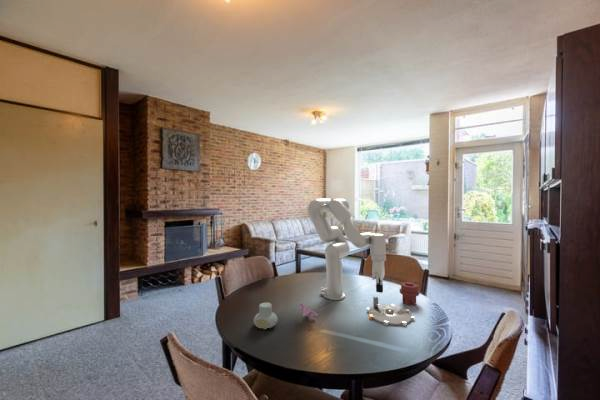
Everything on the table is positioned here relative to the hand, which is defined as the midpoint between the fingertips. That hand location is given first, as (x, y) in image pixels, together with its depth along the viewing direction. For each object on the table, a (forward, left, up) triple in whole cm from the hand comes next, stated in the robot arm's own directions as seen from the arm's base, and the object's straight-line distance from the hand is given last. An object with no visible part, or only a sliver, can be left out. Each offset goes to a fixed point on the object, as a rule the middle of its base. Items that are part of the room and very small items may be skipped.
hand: (379, 291), depth 146 cm
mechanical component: (+14, +12, -9) cm, 21 cm away
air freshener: (-43, -43, -9) cm, 62 cm away
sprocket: (+7, -9, -8) cm, 14 cm away
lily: (-29, -30, -10) cm, 42 cm away
